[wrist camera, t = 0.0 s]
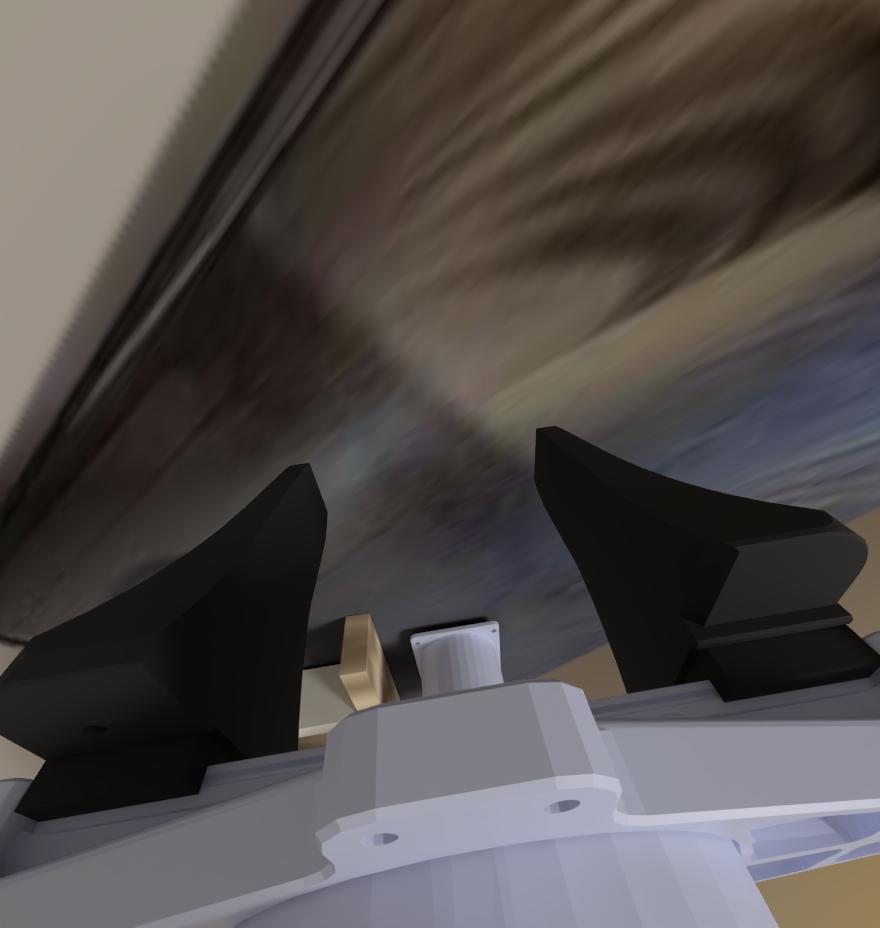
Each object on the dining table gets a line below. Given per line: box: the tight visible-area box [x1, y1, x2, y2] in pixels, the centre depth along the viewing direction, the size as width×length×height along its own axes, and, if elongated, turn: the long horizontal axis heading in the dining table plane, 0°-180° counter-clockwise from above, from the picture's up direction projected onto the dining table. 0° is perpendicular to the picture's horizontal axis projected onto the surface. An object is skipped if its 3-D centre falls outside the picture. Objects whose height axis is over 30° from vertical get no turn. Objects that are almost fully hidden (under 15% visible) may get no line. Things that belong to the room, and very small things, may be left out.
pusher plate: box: [299, 664, 357, 738], centre depth 34 cm, size 2×17×5 cm, turn 97°
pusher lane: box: [298, 613, 400, 750], centre depth 35 cm, size 18×22×5 cm
